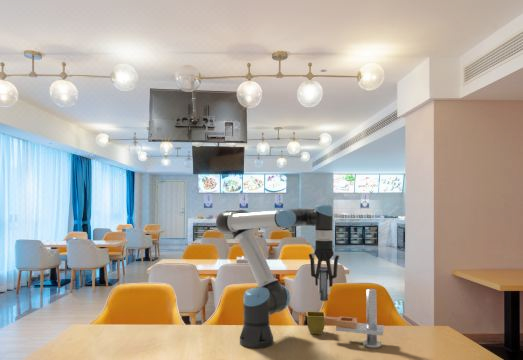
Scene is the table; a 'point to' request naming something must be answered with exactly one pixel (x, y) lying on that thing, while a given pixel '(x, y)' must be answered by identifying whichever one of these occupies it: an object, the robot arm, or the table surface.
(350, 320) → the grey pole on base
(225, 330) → the table surface
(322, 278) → the pin
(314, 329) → the flower pot
